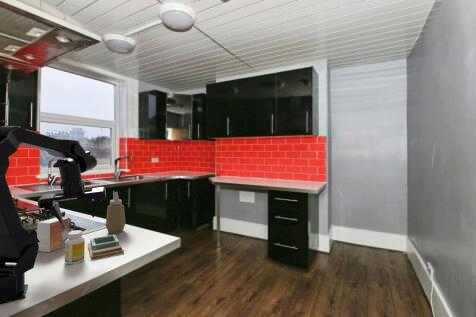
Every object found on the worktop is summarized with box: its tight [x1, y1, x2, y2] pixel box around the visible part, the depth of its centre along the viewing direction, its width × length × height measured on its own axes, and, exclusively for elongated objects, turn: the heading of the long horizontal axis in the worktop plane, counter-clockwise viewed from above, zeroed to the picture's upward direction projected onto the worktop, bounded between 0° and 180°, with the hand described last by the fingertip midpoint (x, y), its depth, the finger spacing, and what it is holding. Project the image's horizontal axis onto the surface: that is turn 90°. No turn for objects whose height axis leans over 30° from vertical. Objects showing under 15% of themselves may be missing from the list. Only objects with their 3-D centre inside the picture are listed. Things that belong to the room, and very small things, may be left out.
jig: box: [87, 234, 125, 261], centre depth 89 cm, size 14×10×3 cm
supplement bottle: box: [64, 230, 86, 265], centre depth 80 cm, size 5×5×10 cm
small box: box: [36, 216, 70, 253], centre depth 90 cm, size 8×6×10 cm
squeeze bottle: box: [105, 191, 126, 235], centre depth 108 cm, size 8×8×18 cm
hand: (78, 219), depth 84 cm, fingers open, 9 cm apart
